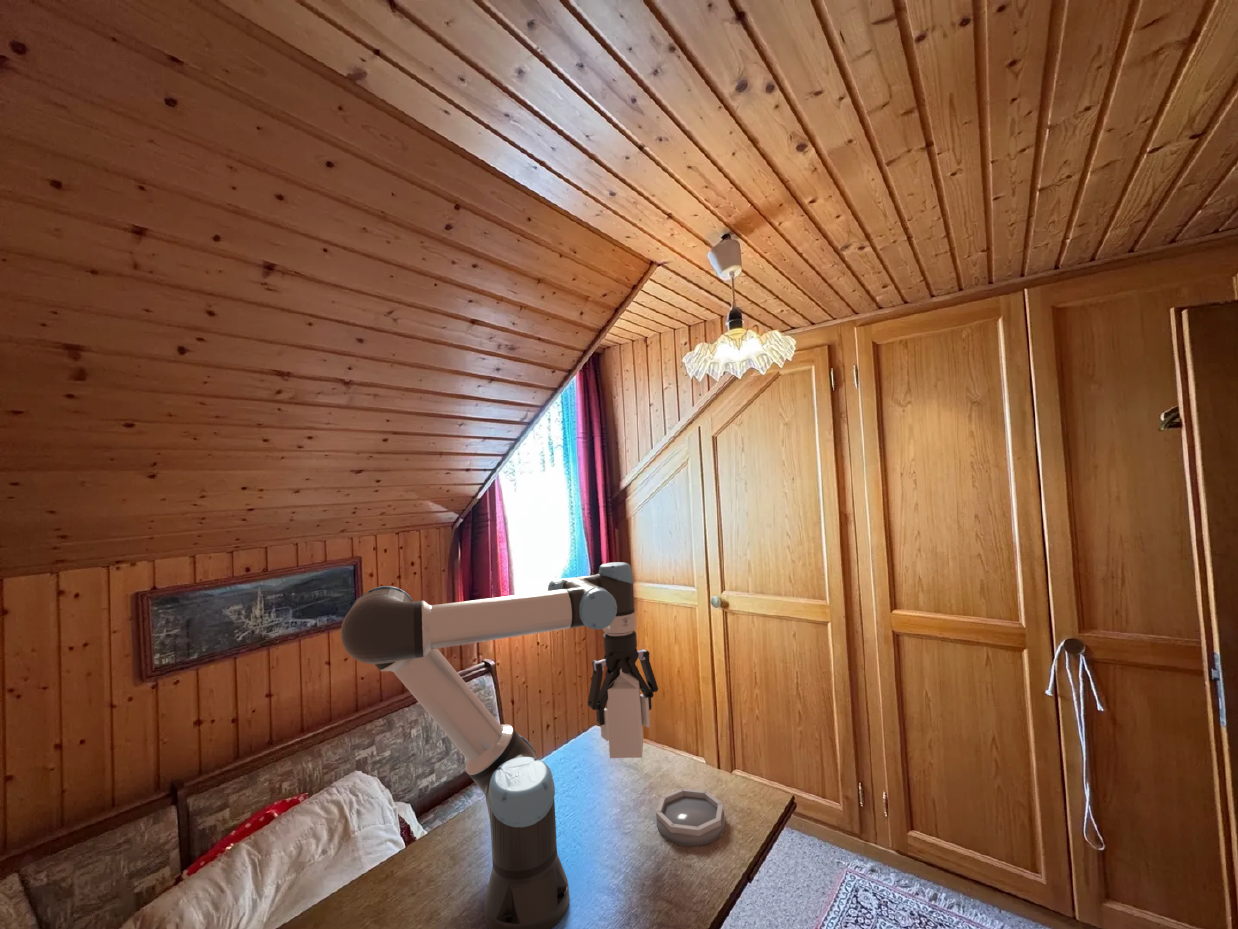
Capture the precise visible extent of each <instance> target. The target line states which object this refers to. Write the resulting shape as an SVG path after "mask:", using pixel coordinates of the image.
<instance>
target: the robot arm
mask: <svg viewBox="0 0 1238 929" xmlns="http://www.w3.org/2000/svg"><path fill="white" fill-rule="evenodd" d="M633 576H634V575H633V570H632V566H631V565H630V564H629V563H628V562H624V561H623V562H620V561H618V562H617V561H616V562H615V561H613V562H607V563H602V564H601V565H600V566H599V570H598V573H596V574H593V575H583V576H576V577H575V576H574V577H562V578H560V579H553V580H551V581H550V582H549V583H548V585H547V586H548V587H547V590H545V591H537V592H529V593H522V594H512V595H507V596H505V595H504V596H498V597H497V596H496V597H488V598H480V599H474V600H473V599H472V600H465V601H456V602H449V603H441V604H440V603H439V604H429V603H428V602H426V601H425V600H417V601H416V600H415V601H413V599H412V597H411V596H410V595H409V594H408V593H407V591H404V590H403V589H401V588H399V587H397V586H391V585H384V586H377V587H374V588H371V589H369V590H367V591H366V592H365V593H362V594H361V595H360V596H359V597H358V598H357V599H356V600H355V601H354V602H353V603H352V606H351V608H350V609H349V611H348V612H347V613H346V614H345V617H344V619H343V621H342V624H341V627H340V628H341V629H340V640H341V644H342V646H343V648H344V650H345V651H346V652H347V654H348V655H349V657H351V658H352V659H354V660H356V661H359V662H361V663H364V664H370V665H374V666H375V667H376V668H377V669H378V670H379V671H380V672H393V673H394V675H395V676H396V678H398V680H399V681H400V682H401V683H402V684H403V685H404V687H405V689H407V690H408V691H409V692H410V694H411V695H412V696H413V697H414V698H415V699H416V700H417V702H418V703H419V705H421V707H422V709H424V711H426V712H427V713H426V714H428V715H429V716H430V717H431V718H432V720H433V721H434V722H435V723H436V725H437V726H438V727H439V728H440V729H441V731H443V733H445V735H446V737H447V738H448V739H449V740H450V741H451V742H452V744H454V746H455V747H456V748H457V749H458V750H459V752H461V754H462V755H463V756H464V758H466V761H465V767H464V768H465V772H466V774H467V775H468V776H469V777H470V778H471V780H473V781H474V783H475V784H476V785H477V787H478V788H479V789H480V790H481V791H482V793H483V794H484V797H485V801H486V803H485V804H486V806H487V812H488V817H489V824H490V838H491V839H490V840H491V841H490V842H491V859H492V860H491V861H492V868H491V873H490V875H489V880H488V884H487V888H486V892H485V895H484V903H483V904H484V905H483V908H484V909H483V910H484V920H485V921H484V922H485V924H486V926H487V928H488V929H552V928H554V927H555V926H556V925H557V924H558V923H559V922H560V921H561V920H562V918H564V916H565V914H566V912H567V909H568V907H569V902H570V886H569V879H568V877H567V874H566V872H565V869H564V867H563V865H562V862H561V859H560V857H559V855H558V848H557V843H558V842H557V824H556V806H555V805H556V804H555V795H556V794H555V793H556V787H555V782H554V776H553V773H552V770H551V768H550V767H549V765H548V764H547V763H546V762H545V761H543V760H541V759H538V758H537V754H536V751H535V748H534V747H533V746H532V744H531V743H530V741H528V740H527V739H526V738H525V737H524V736H522V735H520V734H519V733H518V732H517V731H516V730H515V729H514V727H513V726H512V725H511V724H507V723H504V724H503V723H502V724H500V723H499V722H498V721H497V719H496V718H495V717H494V716H493V714H492V713H491V712H490V710H489V709H488V708H487V706H485V704H484V703H483V702H482V701H481V700H480V698H479V697H478V696H477V695H476V693H475V692H474V691H473V690H472V689H471V688H470V686H469V685H468V684H467V682H466V681H465V680H464V679H463V678H462V676H460V674H459V673H458V672H457V671H456V669H455V668H454V667H453V666H452V664H451V663H450V662H449V660H447V659H446V657H445V655H443V653H442V652H441V651H440V650H439V649H443V648H450V647H456V646H463V645H469V644H475V643H481V642H489V641H495V640H502V639H508V638H516V637H522V636H528V635H534V634H535V635H536V634H540V633H547V632H553V631H555V632H556V631H561V630H566V629H575V628H581V627H587V628H589V629H593V630H602V631H603V632H604V634H603V647H604V648H603V649H604V657H603V659H599V660H596V659H594V660H593V661H592V663H591V665H592V677H591V682H590V687H589V695H588V700H587V706H588V707H589V708H591V709H592V710H593V711H596V712H595V713H596V722H597V724H598V725H600V737H601V738H603V740H605V741H606V742H609V740H610V734H609V717H608V709H607V701H608V689H610V688H612V687H613V684H614V682H615V681H614V680H615V679H616V678H617V677H618V675H619V674H620V669H621V668H622V672H623V673H630V672H631V673H632V675H633V676H634V677H635V678H636V679H637V680H638V681H639V685H640V692H641V693H642V694H641V693H640V698H641V713H642V726H644V727H646V728H647V729H648V728H651V722H650V721H651V720H650V711H651V710H652V706H653V705H652V698H653V697H654V696H655V694H654V693H657V692H658V691H659V686H658V684H657V680H656V678H655V674H654V670H653V668H652V665H651V661H650V651H648V650H646V649H645V648H640V649H639V650H638V649H637V646H638V642H637V640H638V638H637V632H636V631H635V630H636V629H637V628H636V626H637V625H636V611H635V610H636V609H635V596H634V595H635V594H634V592H635V591H634V585H635V584H634V583H635V582H634V578H633ZM638 659H639V662H640V666H641V668H642V671H643V674H644V677H643V676H642V674H641V672H640V670H639V668H638V666H637V665H636V663H637V660H638ZM605 666H606V667H607V668H606V671H605ZM604 671H605V673H604ZM611 673H613V674H611ZM603 674H604V675H605V677H604V678H603ZM644 678H645V680H644ZM602 680H603V682H602ZM616 680H617V679H616ZM613 681H614V682H613ZM612 682H613V683H612ZM611 683H612V684H611ZM610 684H611V685H610ZM609 685H610V686H609Z"/></svg>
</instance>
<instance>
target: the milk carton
mask: <svg viewBox="0 0 1238 929" xmlns="http://www.w3.org/2000/svg"><path fill="white" fill-rule="evenodd" d="M611 674H613V673H611ZM616 679H617V680H616ZM616 679H615V680H614V681H615V682H614V681H613V682H614V684H613V687H612V688H610V689H608V701H607V703H606V709H608V717H609V734H610V740H609V741H608V747H609V758H610V759H638V758H639V759H641V758H643V752H644V751H643V750H644V733H643V731H644V729H643V728H644V727H643V724H642V713H641V698H640V695H641V690H640V685H639V681H638V680H637V679H636V678H635V677H634V676H633V675H632V673H631V672H630V673H623V672H622V668H621V669H620V674H619V675H618V677H617V678H616ZM613 682H612V683H613ZM612 683H611V684H612ZM611 684H610V685H611ZM610 685H609V686H610Z"/></svg>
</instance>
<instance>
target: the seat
mask: <svg viewBox="0 0 1238 929" xmlns="http://www.w3.org/2000/svg"><path fill="white" fill-rule="evenodd" d="M725 815H726V814H725V811H724V803H723V802H722V801H721V800H719V799H718V798H717V797H715V796H714V795H713V794H712V793H710V792H709V791H708V790H703V789H694V788H693V789H692V788H686V787H685V788H682V787H681V788H678V789H676V790H674V791H672V792H670V793H669V792H668V793H667V794H666V793H665V794H664V795H662V796H660V800H659V802H658V805H657V807H656V810H655V821H656V827H657V828H656V829H657V831H658V833H659V834H660V835H661V836H662V837H663V838H665V839H666V840H667V841H669V842H670V843H673V844H675V845H679V846H683V847H700V846H706V845H708V844H712V843H713V842H715V841H717V840H718V839H719V838H720V837H721V836H722V835H723V834H724V832H725V828H726V819H725V818H726V817H725ZM723 831H724V832H723ZM722 833H723V834H722ZM721 834H722V835H721Z"/></svg>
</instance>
